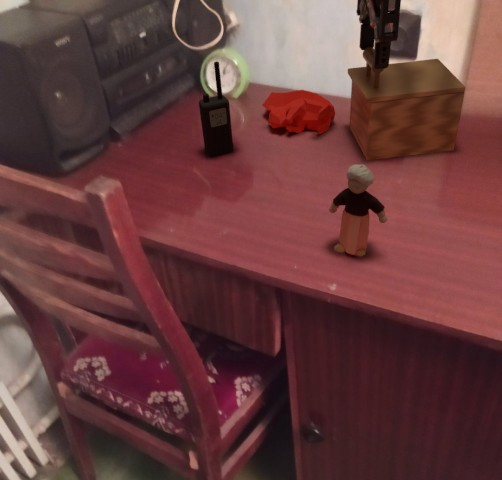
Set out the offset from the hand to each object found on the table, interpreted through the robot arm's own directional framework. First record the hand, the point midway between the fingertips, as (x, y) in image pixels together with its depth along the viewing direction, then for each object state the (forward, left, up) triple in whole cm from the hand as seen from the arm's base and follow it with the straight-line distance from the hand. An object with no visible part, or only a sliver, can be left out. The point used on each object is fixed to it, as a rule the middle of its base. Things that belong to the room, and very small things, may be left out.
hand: (373, 58), depth 91 cm
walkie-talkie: (+25, -3, -14) cm, 29 cm away
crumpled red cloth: (+11, -11, -14) cm, 21 cm away
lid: (-5, 0, -4) cm, 7 cm away
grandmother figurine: (+9, +30, -14) cm, 35 cm away
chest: (-6, 0, -14) cm, 15 cm away
